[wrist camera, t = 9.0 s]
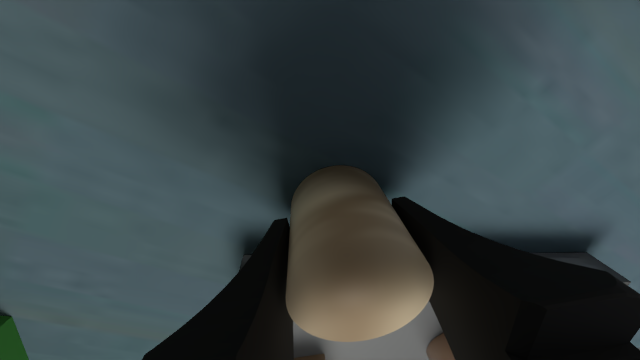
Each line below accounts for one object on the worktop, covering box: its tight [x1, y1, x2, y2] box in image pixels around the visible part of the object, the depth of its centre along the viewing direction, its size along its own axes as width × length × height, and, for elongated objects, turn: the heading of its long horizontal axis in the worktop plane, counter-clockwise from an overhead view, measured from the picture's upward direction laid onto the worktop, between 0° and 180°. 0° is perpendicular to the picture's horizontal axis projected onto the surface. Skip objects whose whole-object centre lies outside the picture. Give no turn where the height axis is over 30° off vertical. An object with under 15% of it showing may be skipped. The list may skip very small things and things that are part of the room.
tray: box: [239, 252, 631, 360], centre depth 17 cm, size 22×15×2 cm
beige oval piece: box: [286, 165, 434, 342], centre depth 11 cm, size 5×5×6 cm
